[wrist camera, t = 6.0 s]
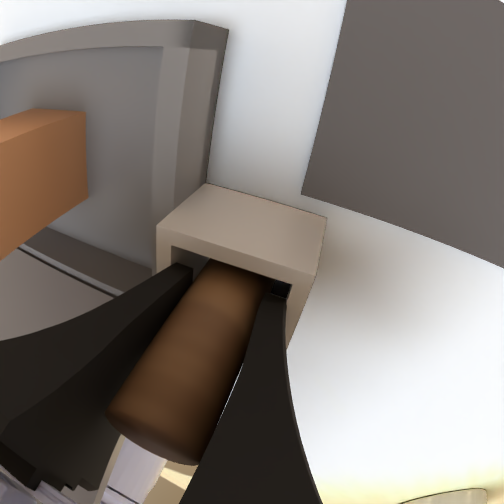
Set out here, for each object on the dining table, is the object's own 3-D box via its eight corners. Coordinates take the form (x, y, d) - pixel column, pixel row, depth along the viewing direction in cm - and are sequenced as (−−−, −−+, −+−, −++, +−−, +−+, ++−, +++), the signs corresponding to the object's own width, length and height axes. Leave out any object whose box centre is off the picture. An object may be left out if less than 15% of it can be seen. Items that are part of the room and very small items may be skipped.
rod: (270, 300, 12) (201, 473, 6) (211, 282, 12) (117, 435, 7) (283, 248, 11) (200, 444, 5) (216, 230, 11) (92, 393, 5)
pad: (508, 267, 9) (510, 271, 9) (302, 191, 11) (300, 194, 10) (580, 66, 4) (585, 67, 4) (358, -54, 6) (358, -57, 5)
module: (88, 198, 13) (-12, 270, 8) (37, 182, 13) (-51, 239, 9) (85, 111, 11) (-40, 162, 6) (32, 108, 11) (-72, 152, 6)
